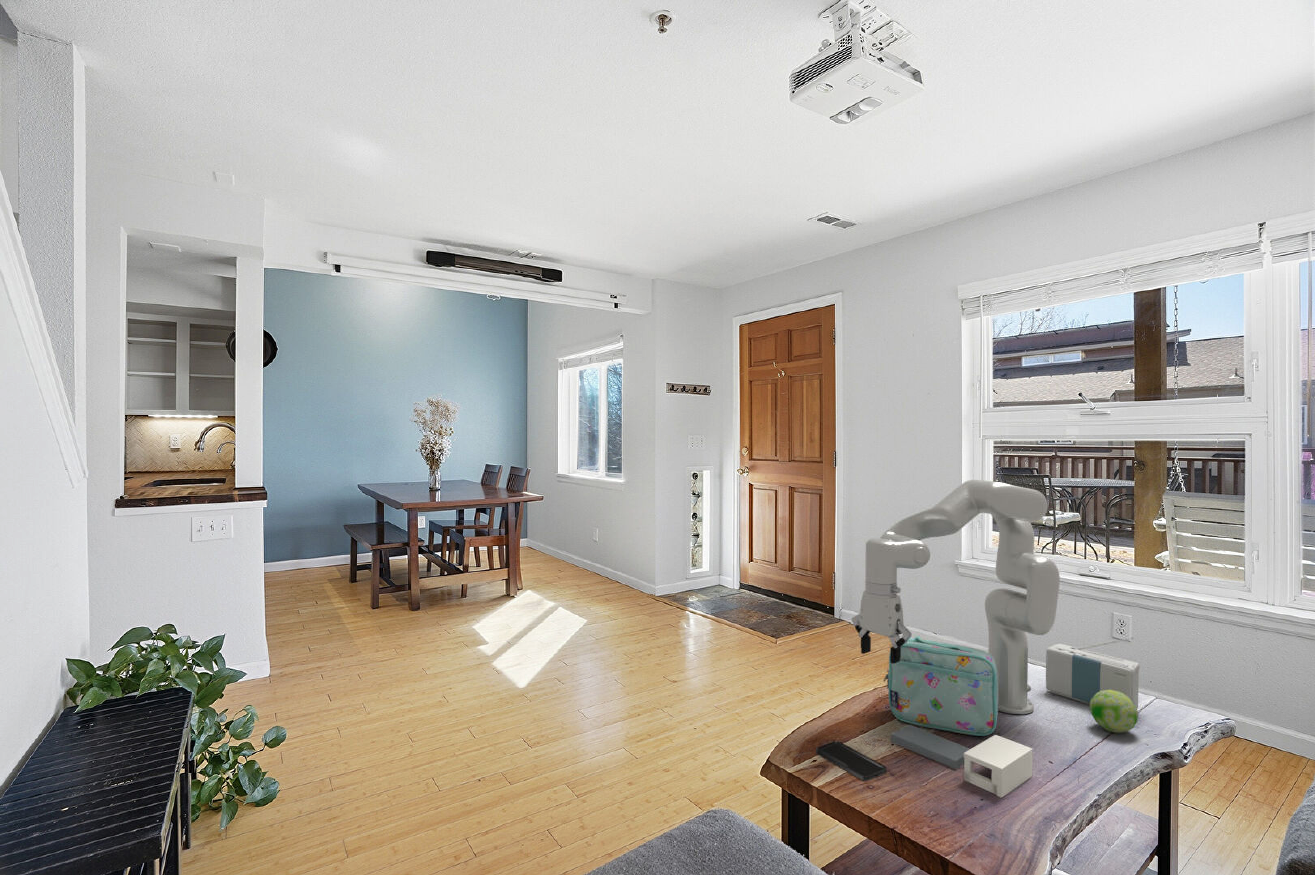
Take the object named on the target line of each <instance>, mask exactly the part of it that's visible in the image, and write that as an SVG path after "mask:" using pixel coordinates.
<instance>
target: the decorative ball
mask: <svg viewBox="0 0 1315 875" xmlns="http://www.w3.org/2000/svg"><path fill="white" fill-rule="evenodd" d="M1089 709H1090V714H1091V716H1092V718H1093V719H1094V722H1096V724H1097V725H1099V726H1100V727H1102V728H1103V729H1104V730H1106V731H1109V732H1112V733H1117V734H1119V733H1126V732H1129V731H1131V730H1133V729H1134V727H1136V724H1137V722H1138V719H1139V718H1138V717H1139V711H1138V708H1136V707H1135V705H1134V703H1133V702H1132V700H1130V698H1129V697H1127V696H1126V695H1125V694H1123V693H1121V692H1118V691H1114V690H1102V691H1100V692H1098V693H1096V694H1095V696H1094V697H1093V698H1092V699H1091V701H1090V704H1089Z"/></svg>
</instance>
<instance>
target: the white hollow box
mask: <svg viewBox="0 0 1315 875" xmlns="http://www.w3.org/2000/svg"><path fill="white" fill-rule="evenodd" d="M1033 753H1034V749H1033V748H1032V747H1029V746H1027V745H1025V744H1024V745H1023V744H1021V743H1018V742H1016V741H1013V740H1010V739H1007V737H1003V736H999V735H997V734H993V736H991V737H989V738H987V739H986V740H984V741H982V742H980V743H978V744H977V745H975V746H973V747H972V748H970V750H968V751H967V752H965V753H964V758H965V761H964V765H963V766H964V767H963V769H964V773H963V774H964V775H963V776H964V777H963V778H964V781H965V782H967V783H970V784H972V785H974V786H976V787H978V788H979V789H980V788H981V789H983V790H985V791H988V792H989V793H992V794H994V795H996V797H998V798H1000V799H1003V797H1005V796H1006V795H1008V794H1009V793H1010V792H1012V791H1014V790H1015V789H1016V788H1018V787H1019V786H1021V785H1023V783H1025V782H1026V781H1027V780H1029V779H1030V778H1032V777H1033V770H1034V769H1033V766H1034V764H1033V762H1034V761H1033V760H1034V759H1033V756H1034V754H1033ZM974 763H976V764H978V765H980V766H983V767H985V768H987V769H990V770H991V778H988V777H986V776H983V775H982V774H980V773H977V772H974V767H973V766H974Z"/></svg>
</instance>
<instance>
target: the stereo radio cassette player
mask: <svg viewBox="0 0 1315 875" xmlns="http://www.w3.org/2000/svg"><path fill="white" fill-rule="evenodd" d="M1134 638H1135V637H1134V636H1133V637H1132V636H1131V637H1130V638H1125V639H1124V638H1123V639H1119V640H1113V641H1106V642H1102V643H1097V644H1091V645H1087V646H1081V647H1075V646H1071V645H1068V644H1064V643H1057V644H1053V645H1052V646H1049V647H1047V648H1046V652H1045V653H1046V655H1045V688H1046V690H1047V691H1049V693H1051V694H1053V695H1054V694H1055V695H1058V696H1062V697H1064V698H1065V697H1066V698H1069V699H1072V700H1074V701H1078V702H1081V703H1084V704H1087V705H1090V701H1091V699H1092V698H1093V697H1094V696H1095V694H1096V693H1098V692H1100V691H1102V690H1114V691H1118V692H1121V693H1123V694H1125V695H1126V696H1127V697H1129V698H1130V700H1132V702H1133V703H1134V705H1135V707H1136V708H1137V709H1138V708H1139V679H1140V678H1139V673H1140V672H1139V671H1140V663H1139V662H1136V661H1131V660H1128V659H1124V658H1119V657H1116V656H1111V655H1108V654H1104V653H1100V652H1096V651H1091V650H1088V649H1089V648H1094V647H1099V646H1105V645H1109V644H1114V643H1118V642H1123V641H1127V640H1134Z"/></svg>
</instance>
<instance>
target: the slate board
mask: <svg viewBox="0 0 1315 875" xmlns="http://www.w3.org/2000/svg"><path fill="white" fill-rule="evenodd" d="M890 735H891V737H890V743H893V744H895V745H898V746H900V747H902V748H904V749H907V750H909V751H912V752H914V753H916V754H919V755H921V756H923V757H926V758H928V759H930V760H933V761H935V762H938V763H940V764H941V765H945V766H947V767H949V768H952V769H954V770H958V769H959V768H960V767H962V766H964V761H965V758H964V753H965V752H967V751H968V750H970V749H971V748H969V747H967V746H965V745H963V744H959V743H957V742H954V741H952V740H949V739H947V738H944V737H942V736H939V735H936V734H934V733H932V732H930V731H929V732H928V731H927V730H924V729H921V728H919V727H916V726H914V725H913V724H908V725H906V726H904V727H902V728H899V729H898V730H895V731H894V732H892V733H890Z"/></svg>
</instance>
